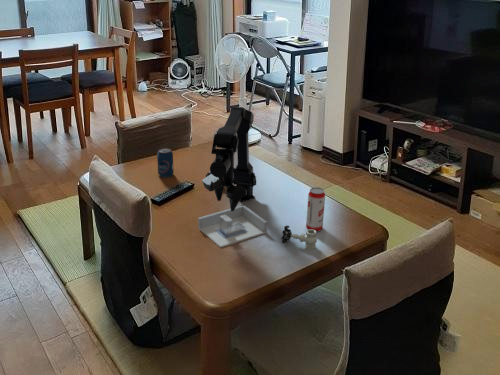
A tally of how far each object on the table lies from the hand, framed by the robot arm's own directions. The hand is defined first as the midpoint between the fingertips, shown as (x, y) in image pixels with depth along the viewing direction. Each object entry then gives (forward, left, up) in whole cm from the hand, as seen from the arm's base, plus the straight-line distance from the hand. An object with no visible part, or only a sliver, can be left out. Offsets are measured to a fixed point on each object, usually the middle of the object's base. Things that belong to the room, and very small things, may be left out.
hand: (225, 205), depth 207 cm
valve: (-19, +20, -12) cm, 30 cm away
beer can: (-31, +14, -12) cm, 36 cm away
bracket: (-3, 0, -11) cm, 12 cm away
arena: (-4, -1, -12) cm, 12 cm away
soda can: (-5, -59, -12) cm, 60 cm away
